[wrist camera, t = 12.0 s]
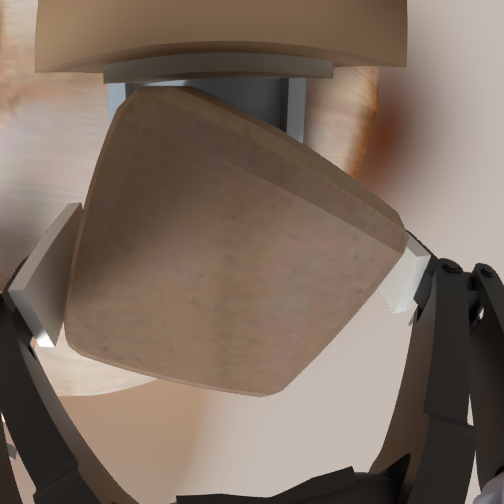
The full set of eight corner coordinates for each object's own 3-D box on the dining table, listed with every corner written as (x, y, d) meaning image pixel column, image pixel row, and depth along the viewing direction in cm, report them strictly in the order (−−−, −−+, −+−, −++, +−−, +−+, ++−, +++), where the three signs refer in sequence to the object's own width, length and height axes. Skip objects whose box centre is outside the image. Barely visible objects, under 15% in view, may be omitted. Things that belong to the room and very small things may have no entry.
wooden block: (137, 181, 26) (56, 356, 9) (182, 82, 22) (123, 70, 5) (231, 219, 29) (276, 407, 13) (282, 130, 25) (429, 237, 9)
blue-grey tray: (120, 7, 17) (108, -3, 14) (294, 3, 20) (308, -8, 16) (136, 235, 30) (130, 256, 27) (283, 225, 33) (293, 244, 29)
